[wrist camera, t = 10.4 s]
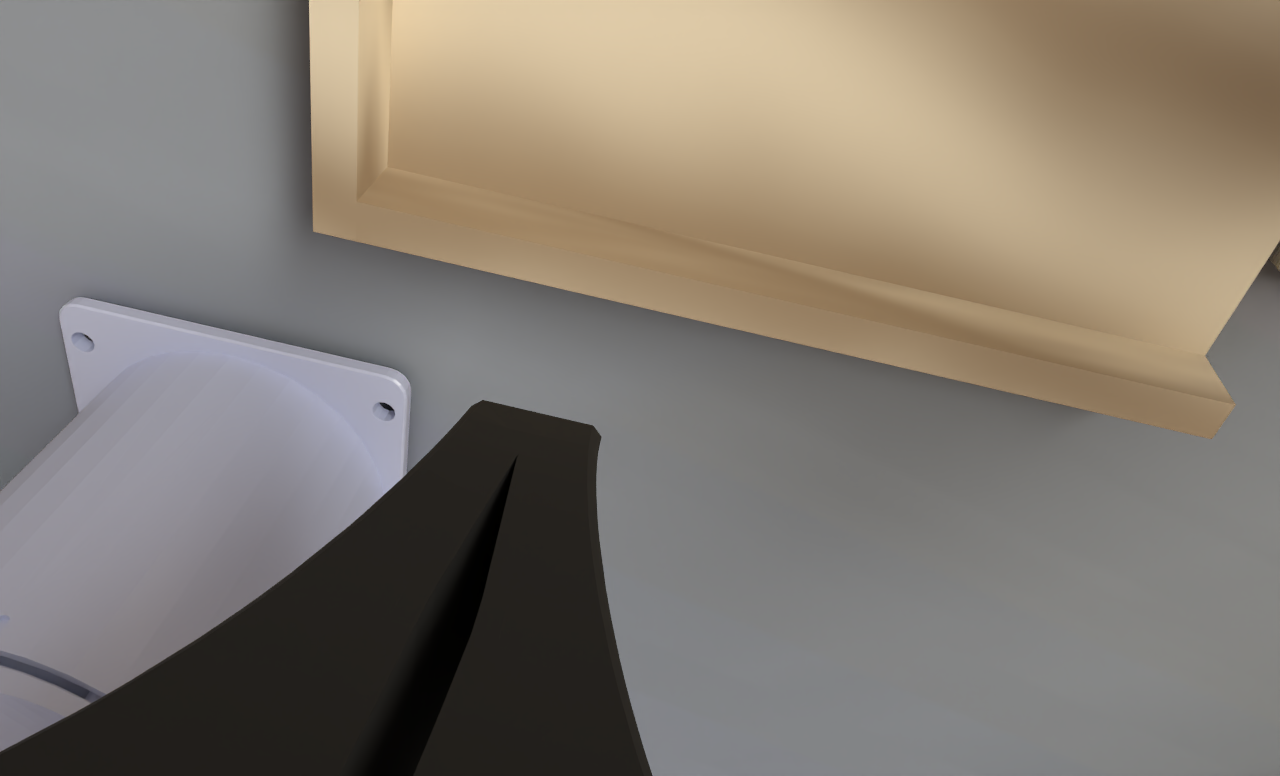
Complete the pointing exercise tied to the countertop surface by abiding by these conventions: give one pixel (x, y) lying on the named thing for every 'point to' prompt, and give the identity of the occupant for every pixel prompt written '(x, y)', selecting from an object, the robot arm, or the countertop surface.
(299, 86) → the countertop surface
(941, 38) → the tray
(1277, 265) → the cover plate
